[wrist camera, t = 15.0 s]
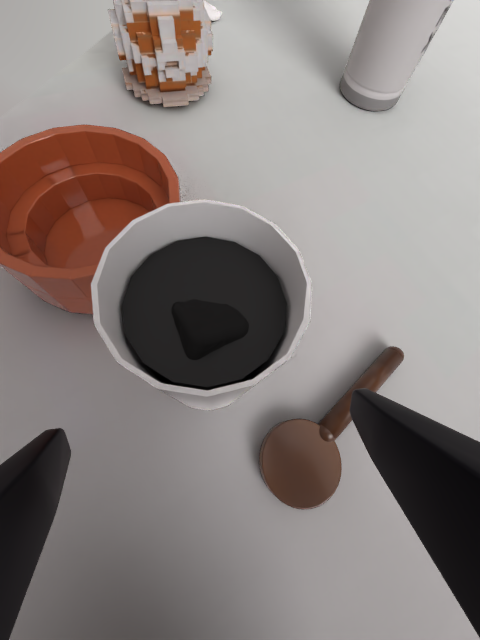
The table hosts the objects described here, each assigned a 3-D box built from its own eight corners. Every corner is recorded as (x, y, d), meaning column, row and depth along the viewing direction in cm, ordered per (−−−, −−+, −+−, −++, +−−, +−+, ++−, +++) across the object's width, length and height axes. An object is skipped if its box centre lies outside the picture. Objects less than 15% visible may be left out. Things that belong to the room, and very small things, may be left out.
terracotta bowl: (177, 323, 19) (166, 286, 14) (0, 311, 18) (-73, 267, 13) (194, 196, 23) (189, 136, 18) (50, 182, 22) (7, 115, 17)
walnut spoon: (367, 329, 20) (377, 322, 19) (419, 376, 19) (432, 373, 18) (243, 458, 16) (245, 460, 15) (299, 526, 15) (306, 533, 14)
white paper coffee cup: (280, 389, 18) (354, 337, 9) (177, 439, 16) (132, 443, 7) (234, 299, 20) (254, 179, 11) (138, 336, 18) (64, 232, 9)
